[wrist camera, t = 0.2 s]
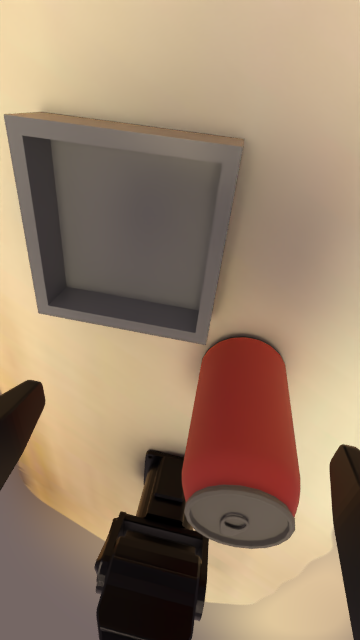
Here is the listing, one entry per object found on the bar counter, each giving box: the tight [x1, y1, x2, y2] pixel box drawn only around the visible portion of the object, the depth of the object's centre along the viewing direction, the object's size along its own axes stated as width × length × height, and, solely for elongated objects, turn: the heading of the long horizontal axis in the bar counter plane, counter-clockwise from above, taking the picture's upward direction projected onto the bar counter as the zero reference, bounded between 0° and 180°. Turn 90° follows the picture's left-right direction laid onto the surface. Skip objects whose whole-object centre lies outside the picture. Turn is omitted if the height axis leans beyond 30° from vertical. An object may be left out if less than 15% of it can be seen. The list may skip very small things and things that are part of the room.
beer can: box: [182, 337, 300, 549], centre depth 22 cm, size 7×7×12 cm
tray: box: [4, 112, 244, 345], centre depth 20 cm, size 12×12×4 cm
